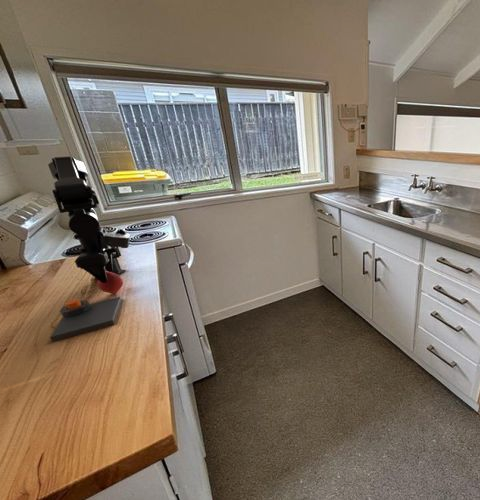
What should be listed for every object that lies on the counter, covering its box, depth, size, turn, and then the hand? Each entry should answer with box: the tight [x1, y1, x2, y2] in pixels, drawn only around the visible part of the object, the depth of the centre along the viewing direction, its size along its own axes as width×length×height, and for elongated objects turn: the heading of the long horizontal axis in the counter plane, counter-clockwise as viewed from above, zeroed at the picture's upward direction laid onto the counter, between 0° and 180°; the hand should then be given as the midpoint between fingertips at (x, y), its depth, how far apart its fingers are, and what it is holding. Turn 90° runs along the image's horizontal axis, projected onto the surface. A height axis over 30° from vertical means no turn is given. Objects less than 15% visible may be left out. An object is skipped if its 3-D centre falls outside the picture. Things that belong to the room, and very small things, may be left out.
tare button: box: [65, 298, 82, 309], centre depth 76 cm, size 3×3×2 cm
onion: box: [97, 271, 124, 295], centre depth 87 cm, size 6×6×8 cm
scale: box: [49, 296, 123, 343], centre depth 75 cm, size 14×12×3 cm
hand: (108, 276), depth 86 cm, fingers open, 9 cm apart
